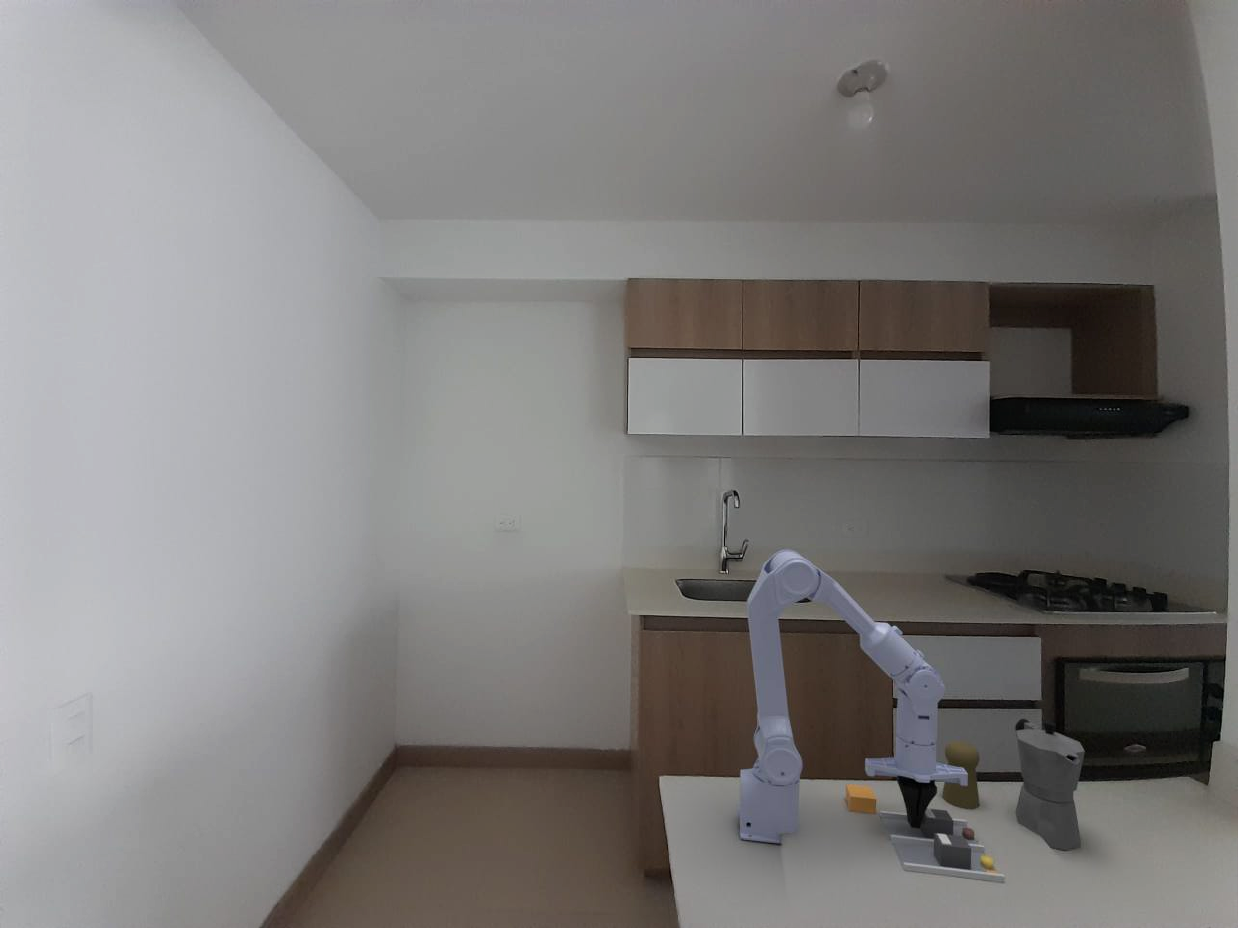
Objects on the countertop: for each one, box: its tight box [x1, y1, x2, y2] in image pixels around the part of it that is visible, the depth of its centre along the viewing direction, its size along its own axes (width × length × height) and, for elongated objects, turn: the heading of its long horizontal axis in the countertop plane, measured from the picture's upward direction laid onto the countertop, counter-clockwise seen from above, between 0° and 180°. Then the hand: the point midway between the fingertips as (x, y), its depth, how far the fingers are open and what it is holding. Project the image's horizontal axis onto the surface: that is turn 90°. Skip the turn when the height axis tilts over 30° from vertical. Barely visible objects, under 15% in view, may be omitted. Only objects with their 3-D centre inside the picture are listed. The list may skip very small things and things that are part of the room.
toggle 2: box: [934, 833, 971, 870], centre depth 91 cm, size 4×3×3 cm
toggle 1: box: [920, 807, 954, 839], centre depth 98 cm, size 4×3×3 cm
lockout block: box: [845, 783, 877, 815], centre depth 106 cm, size 4×4×4 cm
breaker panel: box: [879, 810, 1006, 884], centre depth 95 cm, size 13×14×2 cm
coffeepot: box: [1014, 718, 1086, 851], centre depth 103 cm, size 15×9×18 cm, turn 176°
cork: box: [941, 740, 981, 810], centre depth 108 cm, size 6×6×11 cm
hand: (913, 824), depth 99 cm, fingers closed
